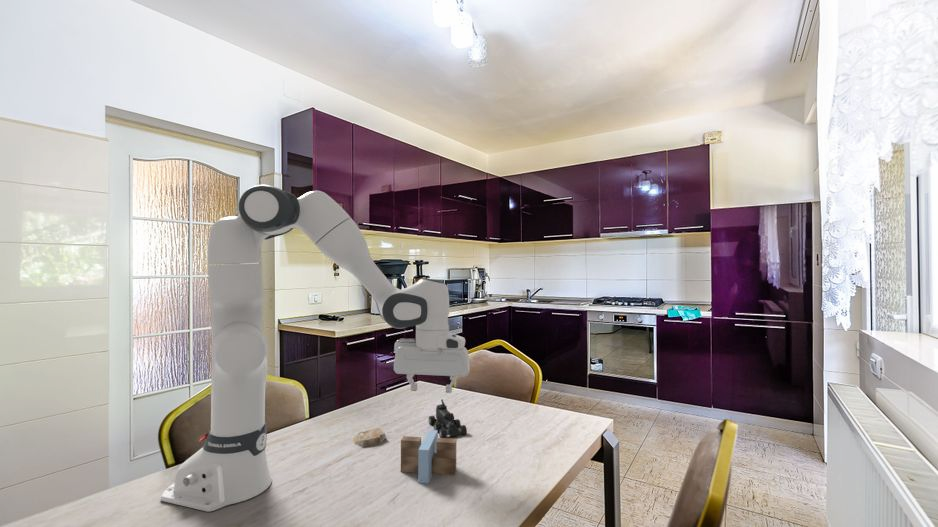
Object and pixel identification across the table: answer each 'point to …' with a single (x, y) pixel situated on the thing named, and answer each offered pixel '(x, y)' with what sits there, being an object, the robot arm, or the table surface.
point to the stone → (369, 437)
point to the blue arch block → (427, 456)
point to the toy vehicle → (446, 422)
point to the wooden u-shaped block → (440, 461)
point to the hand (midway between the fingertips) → (431, 391)
